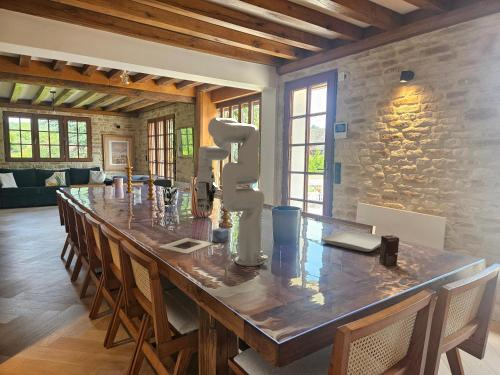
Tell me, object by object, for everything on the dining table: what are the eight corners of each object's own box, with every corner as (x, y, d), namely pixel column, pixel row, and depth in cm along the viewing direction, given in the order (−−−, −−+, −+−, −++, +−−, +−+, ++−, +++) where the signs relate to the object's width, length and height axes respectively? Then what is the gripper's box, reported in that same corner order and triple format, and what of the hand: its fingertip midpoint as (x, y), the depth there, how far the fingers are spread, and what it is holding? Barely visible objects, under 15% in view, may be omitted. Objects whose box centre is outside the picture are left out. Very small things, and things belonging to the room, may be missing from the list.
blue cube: (228, 240, 174) (228, 229, 173) (221, 242, 168) (221, 231, 168) (219, 238, 177) (219, 227, 176) (212, 241, 172) (212, 229, 171)
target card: (213, 243, 166) (213, 243, 166) (186, 253, 149) (186, 253, 149) (186, 238, 175) (186, 237, 175) (158, 247, 158) (158, 246, 158)
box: (385, 266, 137) (387, 238, 136) (378, 262, 141) (380, 235, 140) (398, 265, 138) (399, 237, 137) (391, 262, 143) (392, 234, 141)
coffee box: (208, 212, 177) (208, 182, 175) (196, 211, 179) (197, 182, 177) (213, 209, 186) (213, 181, 184) (202, 208, 188) (203, 180, 186)
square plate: (392, 245, 171) (392, 237, 170) (370, 256, 151) (371, 248, 150) (344, 235, 189) (344, 229, 189) (319, 244, 169) (319, 237, 169)
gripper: (222, 169, 179) (222, 201, 181) (197, 168, 188) (197, 198, 190) (214, 170, 172) (214, 203, 174) (188, 168, 181) (189, 200, 183)
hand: (205, 200), depth 182 cm, fingers closed on coffee box, 7 cm apart
